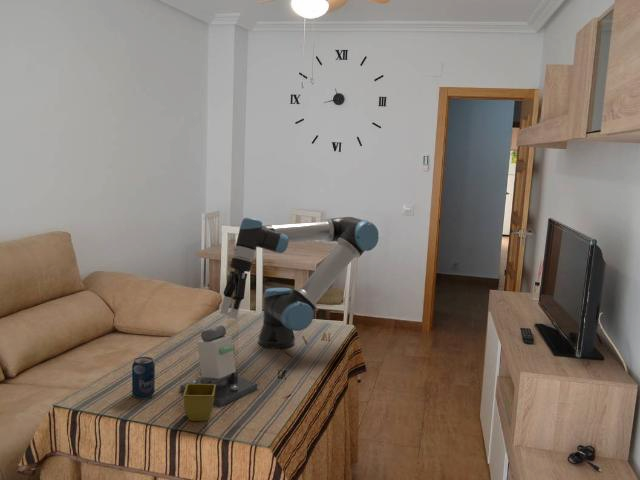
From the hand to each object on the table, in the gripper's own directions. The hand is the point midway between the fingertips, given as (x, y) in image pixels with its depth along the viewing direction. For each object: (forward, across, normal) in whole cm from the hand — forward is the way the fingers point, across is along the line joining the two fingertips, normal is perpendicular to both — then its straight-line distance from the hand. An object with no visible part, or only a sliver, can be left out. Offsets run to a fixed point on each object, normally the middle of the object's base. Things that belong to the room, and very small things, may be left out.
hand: (227, 316), depth 218 cm
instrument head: (+20, +18, -1) cm, 27 cm away
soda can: (+30, +14, -24) cm, 41 cm away
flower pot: (+30, +34, -10) cm, 46 cm away
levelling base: (+24, +16, -1) cm, 29 cm away
